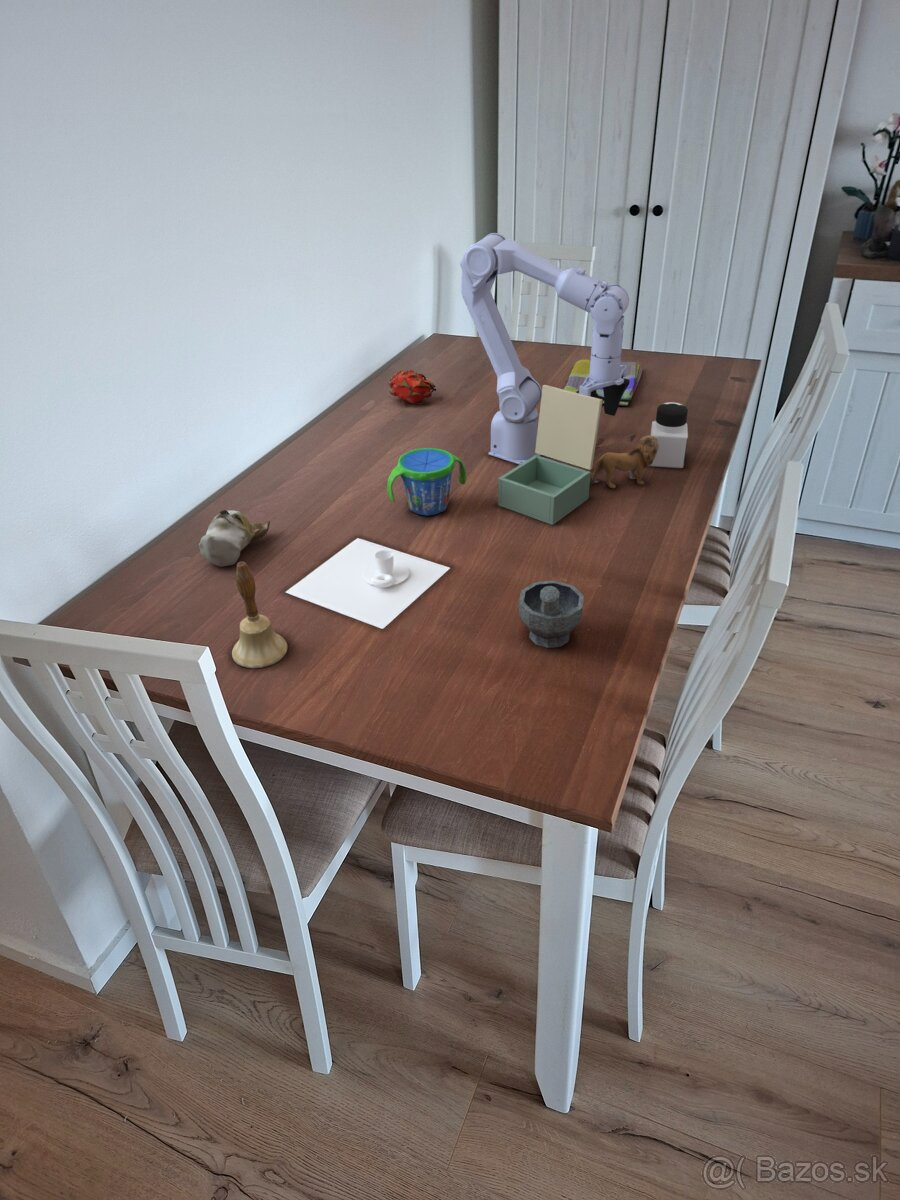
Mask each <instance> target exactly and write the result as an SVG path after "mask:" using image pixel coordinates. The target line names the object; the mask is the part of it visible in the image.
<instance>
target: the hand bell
mask: <svg viewBox="0 0 900 1200" xmlns="http://www.w3.org/2000/svg"><path fill="white" fill-rule="evenodd" d="M235 584H236V588H237V590H238V594H239V595H240V597H241V598H242V600H243V602H244V603H243V604H244V607H245V615H246V617H244V618H242V620H241V621H240V623H239V638H238V641H236V642H235V644H234V646H233V648H232V650H231V658H232V660H233V662H235V663H236V664H237V665H238V666H240V667H243V668H246V669H262V668H263V669H264V668H267V667H270V666H272V665H275V664H276V663H278V662H279V661H281V660H282V659H283V658H284V657H285V655H286V654H287V652H288V649H289V648H288V643H287V640H286V639H284V637H283V636H281V635H280V634H278V633H276V632H275V631H274V629H273V626H272V624H271V621H270V619H269V618H268V617H267V616H265V615H264V614H260V612H259V610H258V606H257V603H256V581H255V577H254V575H253V572H252V571H251V569H250V568H249V566H248V564H247V562H245V561H239V562H237V563H236V571H235Z"/></svg>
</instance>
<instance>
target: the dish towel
mask: <svg viewBox="0 0 900 1200" xmlns="http://www.w3.org/2000/svg"><path fill="white" fill-rule="evenodd" d="M620 365H624V366H627V374H626V376H625V377H623V378H625V379H628V380H630V383H629V386H628V387H627V388H626V390H625V392H624V393H623V395H622V398H621V400H620V403H619V406H622V407H628V406H629V403H630V402H631V400H632V398H633V396H634V394H635V392H636V390H637V388H638V386H639V382H640V380H641V376H642V373H643V369H642V366H641V365H640V363H637V362H636V361H621V362H620ZM589 372H590V359H589V358H587V359H580V360H577V361H576V362H575V363H574V364H573V367H572V369H571V372H570V374H569V376H568V379H567V381H566V384H565V386H564V388H562V389H563V390H567V391H571V392H575V393H576V392H577V391H578V390H579V389H580V386H581V385H582V384H583V383H584V381H585V380H586V378H587V376H588V375H589ZM597 393H598V395H599V396H602V397H604V391H603V388H600V389H598V390H597ZM597 393H596V394H597ZM602 405H604V401H603V403H602Z"/></svg>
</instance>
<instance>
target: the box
mask: <svg viewBox="0 0 900 1200" xmlns="http://www.w3.org/2000/svg"><path fill="white" fill-rule="evenodd" d="M591 473H592V472H591V470H587V469H584V468H581V467H578V466H574V465H571V464H568V463H565V462H562V461H559V460H555V459H552V458H549V457H546V456H543V455H541V456H539V455H535V456H533V457H531V458H530V459H528V460H527V461H525V462H523V463H522V464H520V465H519V464H518V465H517V466H515V467H514V468H512V469H511V470H509V471H508V472H505V473H504V474H502V475H501V476H499V477H498V478H497V506H499V507H501V508H504V509H506V510H510V511H513V512H516V513H519V514H520V515H524V516H526V517H529V518H532V519H535V520H537V521H541V522H543V523H546V524H548V525H552V526H553V525H555V524H556V523H557V522H559V521H561V520H562V519H563V518H564V517H565V516H567V515H568V514H570V513H572V512H573V511H574V510H575V509H577V508H578V507H579V506H581V505H582V504H584V502H586V501H587V500H588V499H589V498H590V487H591V486H590V482H591Z"/></svg>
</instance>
